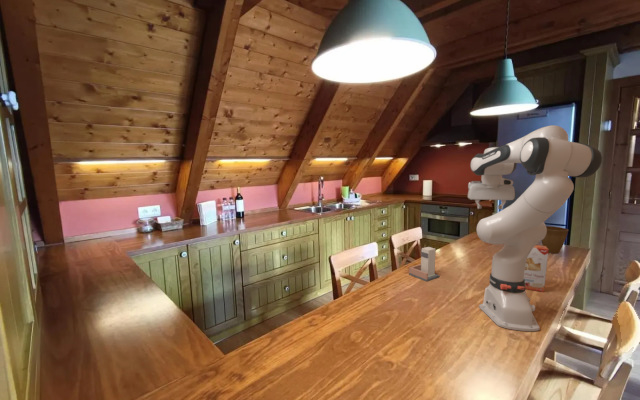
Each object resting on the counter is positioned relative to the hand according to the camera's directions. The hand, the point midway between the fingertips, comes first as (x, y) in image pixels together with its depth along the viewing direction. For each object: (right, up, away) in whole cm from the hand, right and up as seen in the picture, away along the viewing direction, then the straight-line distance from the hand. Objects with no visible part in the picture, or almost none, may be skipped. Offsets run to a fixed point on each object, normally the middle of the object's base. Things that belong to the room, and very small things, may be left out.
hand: (489, 208), depth 147 cm
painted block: (-27, -35, +10) cm, 45 cm away
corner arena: (-29, -36, +11) cm, 47 cm away
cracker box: (+15, -38, -4) cm, 41 cm away
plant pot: (+69, -30, +49) cm, 90 cm away
